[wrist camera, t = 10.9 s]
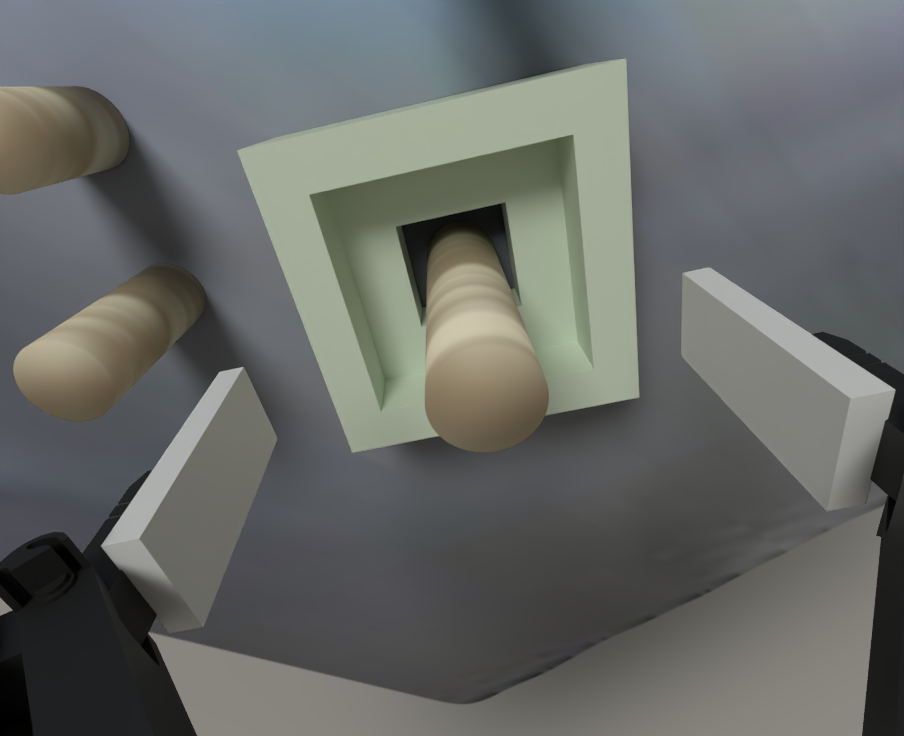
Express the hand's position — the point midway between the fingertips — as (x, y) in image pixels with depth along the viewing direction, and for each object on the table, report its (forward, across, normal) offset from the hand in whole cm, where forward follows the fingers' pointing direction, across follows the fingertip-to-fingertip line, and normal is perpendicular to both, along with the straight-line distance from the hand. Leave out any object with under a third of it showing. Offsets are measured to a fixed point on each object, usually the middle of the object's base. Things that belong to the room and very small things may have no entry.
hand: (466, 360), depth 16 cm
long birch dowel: (+12, 0, -1) cm, 12 cm away
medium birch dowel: (+12, -14, 0) cm, 19 cm away
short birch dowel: (+12, -14, +8) cm, 21 cm away
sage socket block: (+12, 0, 0) cm, 12 cm away
